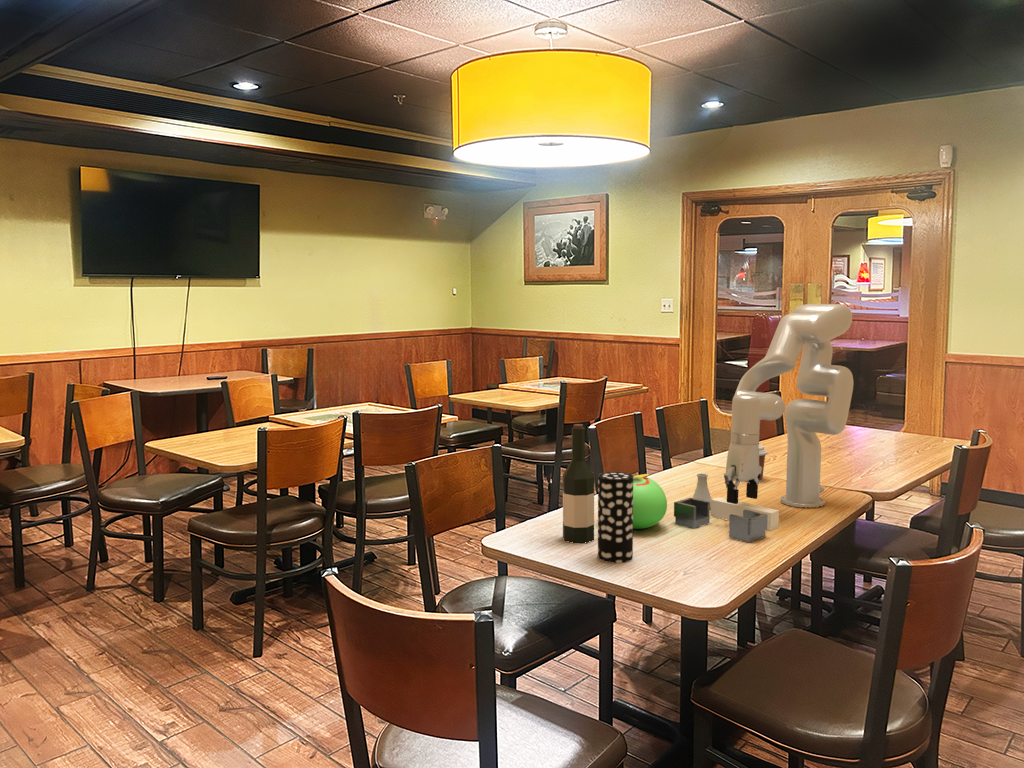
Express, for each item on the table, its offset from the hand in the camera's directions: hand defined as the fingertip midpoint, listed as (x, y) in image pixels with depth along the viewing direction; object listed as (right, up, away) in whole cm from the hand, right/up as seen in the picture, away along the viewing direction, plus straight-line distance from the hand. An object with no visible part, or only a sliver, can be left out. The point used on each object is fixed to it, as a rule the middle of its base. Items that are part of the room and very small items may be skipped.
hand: (742, 500), depth 214 cm
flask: (-7, -5, +16) cm, 18 cm away
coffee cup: (+18, -1, +49) cm, 52 cm away
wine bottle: (-46, -8, -13) cm, 49 cm away
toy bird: (-30, -7, -3) cm, 31 cm away
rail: (+1, -6, +1) cm, 6 cm away
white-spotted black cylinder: (-39, -10, -28) cm, 49 cm away
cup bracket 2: (-3, -8, -13) cm, 15 cm away
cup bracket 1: (-14, -6, 0) cm, 15 cm away
